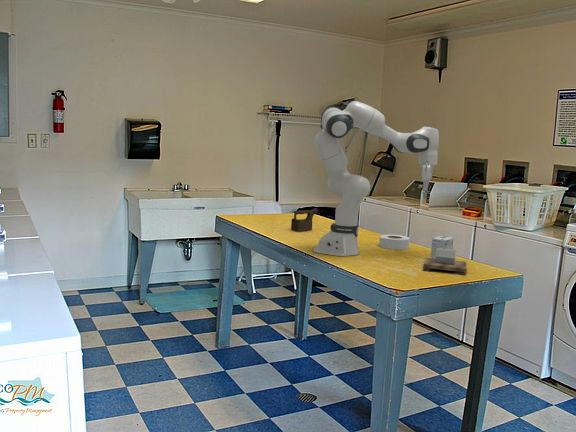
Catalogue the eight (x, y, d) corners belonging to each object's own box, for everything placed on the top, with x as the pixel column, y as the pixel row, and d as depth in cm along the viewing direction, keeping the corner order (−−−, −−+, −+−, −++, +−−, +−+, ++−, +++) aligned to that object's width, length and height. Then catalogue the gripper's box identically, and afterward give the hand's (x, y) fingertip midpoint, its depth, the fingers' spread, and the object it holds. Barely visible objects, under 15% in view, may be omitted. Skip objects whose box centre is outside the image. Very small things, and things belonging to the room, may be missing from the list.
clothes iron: (319, 230, 324) (320, 209, 322) (296, 232, 316) (297, 209, 314) (312, 228, 331) (313, 207, 329) (290, 230, 322) (290, 208, 320)
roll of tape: (373, 244, 289) (374, 234, 288) (398, 243, 295) (399, 233, 294) (388, 250, 275) (389, 240, 274) (414, 249, 280) (415, 239, 279)
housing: (453, 265, 234) (455, 251, 233) (435, 262, 237) (436, 249, 236) (454, 262, 239) (455, 249, 238) (436, 260, 241) (437, 247, 241)
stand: (423, 270, 234) (423, 264, 234) (424, 263, 247) (425, 257, 247) (466, 275, 229) (466, 268, 228) (465, 268, 242) (466, 261, 242)
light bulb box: (439, 256, 265) (441, 235, 263) (452, 259, 261) (454, 237, 259) (429, 259, 257) (431, 237, 255) (443, 262, 252) (445, 239, 251)
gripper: (433, 161, 246) (431, 191, 248) (435, 160, 265) (433, 188, 267) (419, 161, 247) (417, 190, 250) (422, 159, 267) (420, 187, 269)
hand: (425, 189), depth 258 cm, fingers open, 8 cm apart
